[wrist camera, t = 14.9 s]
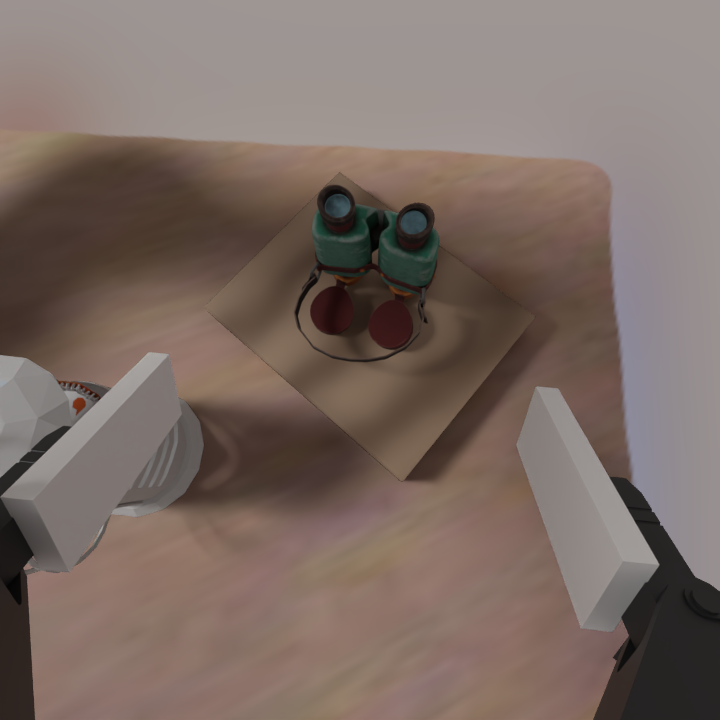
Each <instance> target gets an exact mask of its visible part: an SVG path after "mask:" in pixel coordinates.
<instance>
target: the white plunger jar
mask: <svg viewBox="0 0 720 720" xmlns="http://www.w3.org/2000/svg"><path fill="white" fill-rule="evenodd" d="M111 389H112V388H109V387H106V386H103V385H99V384H96V383H93V382H83V381H72V382H66V381H57V380H56V378H55V377H54V376H53V375H52V374H51V373H50V372H48V371H46V370H45V369H43V368H42V367H40V366H38V365H37V364H35V363H34V362H32V361H30V360H29V359H27V358H21V357H13V356H4V355H0V477H1V476H3V475H4V474H5V473H6V472H7V471H8V470H9V469H10V468H11V467H12V466H13V465H14V464H16V463H19V461H20V459H21V458H22V457H23V456H24V455H25V454H26V453H27V452H30V451H31V449H32V448H33V447H34V446H35V445H36V444H37V443H38V442H39V441H40V440H41V439H43V438H44V437H45V436H46V435H48V434H50V433H52V432H53V431H55V430H57V429H59V428H60V427H62V426H74V425H75V424H76V423H77V422H78V421H79V420H80V419H81V418H82V417H83V416H84V415H85V414H86V413H87V412H88V411H89V410H90V409H91V408H92V407H93V406H94V405H95V404H96V403H97V402H98V401H99V400H100V399H101V398H102V397H103V396H104V395H105V394H106V393H107V392H108V391H109V390H111ZM178 398H179V397H178ZM179 403H180V407H181V412H182V415H181V416H180V418H179V419H178V420H177V422H176V423H175V425H174V426H173V427H172V429H171V430H170V432H169V433H168V434H167V436H166V437H165V439H164V440H163V441H162V443H161V444H160V446H159V447H158V448H157V450H156V451H155V453H154V454H153V456H152V457H151V458H150V460H149V461H148V463H147V464H146V465H145V467H144V468H143V470H142V471H141V472H140V474H139V475H138V477H137V478H136V479H135V481H134V482H133V484H132V485H131V487H130V488H129V489H128V491H127V492H126V494H125V495H124V496H123V498H122V499H121V501H120V502H119V503H118V505H117V506H116V508H115V509H114V510H113V512H112V514H118V515H125V516H133V517H140V516H143V515H147V514H150V513H154V512H157V511H160V510H163V509H165V508H166V507H167V506H168V505H170V504H171V503H172V502H174V501H175V500H176V499H178V498H179V497H180V496H181V495H183V494H184V493H185V492H186V490H187V488H188V487H189V485H190V484H191V482H192V480H193V479H194V477H195V476H196V474H197V472H198V471H199V467H200V462H201V457H202V452H203V447H204V443H203V437H202V432H201V427H200V421H199V420H198V418H197V417H196V415H195V414H194V412H193V411H192V410H191V408H190V407H189V405H188V404H187V402H185V401H184V400H182V399H180V398H179ZM109 518H110V516H109ZM109 518H108V519H107V520H106V522H105V523H104V525H103V526H102V527H101V529H100V532H99V534H98V536H97V538H96V540H95V542H94V544H93V546H92V547H91V548H90V549H89V550H88V551H87V552H86V553H85V554H84V555H83V556H81V557H80V558H79V560H78V561H77V563H76V564H75V565H78V564H79V563H80V562H82V561H83V560H84V559H85V558H86V557H87V556H88V555H89V554H90V553H91V552H92V551H93V550H94V549H95V548H96V547H97V545H98V543H99V542H100V540H101V538H102V536H103V534H104V533H105V530H106V527H107V524H108V521H109ZM28 563H29V564H30V565H31V566H32V567H33V568H31V569H28V570H24V571H25V573H26V575H28V574H31V573H35V572H38V571H41V570H42V569H41V568H40V567H39V565H38V563H37V562H36V561H35V560H34V559H33V558H31V559H30V560H29V561H28ZM75 565H74V566H75ZM42 571H46V572H53V573H59V572H60V571H51V570H42Z"/></svg>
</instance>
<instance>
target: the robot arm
mask: <svg viewBox="0 0 720 720" xmlns="http://www.w3.org/2000/svg"><path fill="white" fill-rule="evenodd" d="M181 415H182V412H181V407H180V403H179V398H178V393H177V388H176V383H175V379H174V374H173V369H172V364H171V359H170V355H169V354H162V353H151V352H149V353H147V354H146V355H145V356H144V357H143V358H142V359H141V360H140V361H139V362H138V363H137V364H136V365H135V366H134V367H133V368H132V369H131V370H130V371H129V372H128V373H127V374H126V375H125V376H124V377H123V378H122V379H121V380H120V381H119V382H118V383H117V384H116V385H115V386H114V387H113V388H112V389H111V390H109V391H108V392H107V393H106V394H105V395H104V396H103V397H102V398H101V399H100V400H99V401H98V402H97V403H96V404H95V405H94V406H93V407H92V408H91V409H90V410H89V411H88V412H87V413H86V414H85V415H84V416H83V417H82V418H81V419H80V420H79V421H78V422H77V423H76V424H75V425H74V426H62V427H60V428H59V429H57V430H55V431H53V432H52V433H50V434H48V435H46V436H45V437H44V438H43V439H41V440H40V441H39V442H38V443H37V444H36V445H35V446H34V447H33V448H32V449H31V451H30V452H27V453H26V454H25V455H24V456H23V457H22V458H21V459H20V461H19V463H16V464H14V465H13V466H12V467H11V468H10V469H9V470H8V471H7V472H6V473H5V474H4V475H3V476H1V477H0V720H35V712H34V695H33V677H32V659H31V642H30V624H29V606H28V589H27V576H26V573H25V571H24V569H23V567H24V566H25V565H26V564H27V563H28V561H29V560H30V559H31V558H32V556H34V558H35V560H36V561H37V563H38V565H39V567H40V568H41V569H42V570H51V571H60V572H70V571H71V570H72V568H73V567H74V565H75V564H76V563H77V561H78V560H79V558H80V557H81V556H82V554H83V553H84V551H85V550H86V549H87V547H88V546H89V544H90V543H91V541H92V540H93V539H94V537H95V536H96V534H97V533H98V532H99V530H100V529H101V527H102V526H103V525H104V523H105V522H106V520H107V519H108V518H109V516H110V515H111V513H112V512H113V510H114V509H115V508H116V506H117V505H118V503H119V502H120V501H121V499H122V498H123V496H124V495H125V494H126V492H127V491H128V489H129V488H130V487H131V485H132V484H133V482H134V481H135V479H136V478H137V477H138V475H139V474H140V472H141V471H142V470H143V468H144V467H145V465H146V464H147V463H148V461H149V460H150V458H151V457H152V456H153V454H154V453H155V451H156V450H157V448H158V447H159V446H160V444H161V443H162V441H163V440H164V439H165V437H166V436H167V434H168V433H169V432H170V430H171V429H172V427H173V426H174V425H175V423H176V422H177V420H178V419H179V418H180V416H181ZM516 446H517V449H518V451H519V454H520V457H521V460H522V463H523V466H524V468H525V471H526V474H527V477H528V480H529V483H530V485H531V488H532V491H533V494H534V497H535V499H536V502H537V505H538V508H539V511H540V514H541V516H542V519H543V522H544V525H545V528H546V531H547V533H548V536H549V539H550V542H551V545H552V548H553V550H554V553H555V556H556V559H557V562H558V565H559V567H560V570H561V573H562V576H563V579H564V582H565V584H566V587H567V590H568V593H569V596H570V598H571V601H572V604H573V607H574V610H575V613H576V615H577V618H578V621H579V624H580V627H581V629H590V630H599V631H608V632H613V631H614V629H615V628H616V626H617V625H618V623H619V622H620V621H621V619H622V620H623V622H624V625H625V627H626V629H627V631H628V634H629V637H628V638H627V639H626V641H625V642H624V643H623V645H622V646H621V647H620V649H619V650H618V651H617V653H616V654H615V655H614V657H613V658H614V659H615V660H617V662H616V664H615V667H614V669H613V672H612V674H611V677H610V679H609V682H608V684H607V687H606V689H605V692H604V694H603V697H602V699H601V702H600V704H599V707H598V709H597V712H596V714H595V717H594V719H593V720H720V591H718V590H717V589H716V588H714V587H713V586H712V585H710V584H708V583H706V582H704V581H702V580H700V579H698V578H696V577H695V576H694V575H693V573H692V572H691V570H690V568H689V567H688V565H687V564H686V562H685V561H684V559H683V557H682V556H681V555H680V553H679V551H678V550H677V548H676V547H675V545H674V543H673V542H672V540H671V539H670V537H669V535H668V534H667V532H666V531H665V529H664V528H663V526H660V521H659V520H658V518H657V517H656V515H655V513H654V512H652V509H651V507H650V506H649V504H648V502H647V501H646V500H645V498H644V496H643V495H642V493H641V492H640V491H639V490H638V489H637V488H635V487H634V486H633V485H632V484H631V483H630V482H629V481H628V480H627V479H626V478H617V477H609V476H608V474H607V473H606V471H605V469H604V467H603V466H602V464H601V462H600V460H599V459H598V457H597V455H596V453H595V452H594V450H593V448H592V447H591V445H590V443H589V441H588V440H587V438H586V436H585V434H584V433H583V431H582V429H581V427H580V426H579V424H578V422H577V420H576V419H575V417H574V415H573V414H572V412H571V410H570V408H569V407H568V405H567V403H566V401H565V400H564V398H563V396H562V394H561V393H560V391H559V389H558V388H549V387H537V386H536V387H535V390H534V393H533V397H532V400H531V403H530V406H529V409H528V412H527V415H526V418H525V421H524V424H523V427H522V430H521V433H520V436H519V439H518V442H517V445H516Z"/></svg>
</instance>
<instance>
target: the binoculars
mask: <svg viewBox="0 0 720 720" xmlns="http://www.w3.org/2000/svg"><path fill="white" fill-rule="evenodd" d="M317 206H318V209H317V211H316V213H315V215H314V219H313V223H312V237H313V242H314V246H315V259H316V262H317V263H316V264H315V265H314V266H313V268H312V270H311V271H310V275H309V277H308V279H307V282H306V283H305V284H304V285H303V286H302V292H301V293H300V295H299V296H298V298H297V302H296V305H295V309H294V317H295V321H296V325H297V328H298V329H299V331H300V332H301V333H302V335H303V336H304V337H305V338H306V340H307V341H308V342H309V344H310V345H311V346H312V347H313V349H315V350H317V351H319V352H321V353H323V354H325V355H327V356H329V357H331V358H333V359H338V360H343V361H349V362H372V361H379V360H385V359H388V358H390V357H392V356H394V355H396V354H397V353H399V352H401V351H403V350H405V349H407V347H408V346H409V345H410V344H411V343H412V342H413V341H414V340H415V339H416V338H417V336H418V335H419V333H420V331H421V328H422V324H423V322H424V323H426V324H428V321H427V317H426V315H425V313H424V307H425V303H426V300H425V293H426V291H427V290H428V288H429V286H430V285H431V283H432V281H433V279H435V278H436V275H435V271H436V268H437V254H438V248H439V235H438V233H437V231H436V230H435V229H434V228H433V224H434V218H435V217H434V213H433V210H432V209H431V208H430V207H429V206H428V205H426V204H424V203H413V204H410V205H407V206H406V207H404V208H403V209H402V210H401V211H400V212H399V213H397V212H391V211H388V210H386V209H385V210H382V209H378V210H377V209H376V208H373V207H369V206H365V205H360V204H355V200H354V197H353V195H352V194H351V192H350V191H349V190H348V189H346V188H345V187H343V186H340V185H328V186H326V187H324V188H323V189H322V190H321V191H320V193H319V195H318V198H317ZM378 248H379V250H378V265H376V264H374V263H372V253H373V252H374V251H376V250H377V249H378ZM315 269H317V271H318V274H317V276H316V274H315V273H314V271H315ZM371 269H374V270H376V271H377V272H378V273H379V275H380V277H381V279H382V280H383V281H384V282H385V283H386V284H388V286H389V289H390V291H391V293H392V294H393V295H394V296H395V300H389V301H386V302H384V303H382V304H381V305H380V306H378V307H377V308H376V309H375V310H374V312H373V313H372V315H371V316H370V319H369V323H368V330H369V334H370V336H371V338H372V339H373V340H374V341H375V342H376V343H377V344H378V345H379V346H381V347H382V348H385V349H390V350H393V349H397V350H395V351H393V352H392V353H390V354H388V355H386V356H379V357H373V358H347V357H341V356H336V355H331V354H329V353H327V352H325V351H323V350H321V349H319V348H317V347H315V346H313V345H312V343H311V342H310V341H309V339H308V338H307V337H306V335H305V334H304V333H303V331H302V330H301V326H300V322H299V318H298V314H299V311H300V307H301V304H302V301H303V300H304V298H305V296H306V295H307V293H308V292H309V290H310V289H311V288H312V287H313V286H314V285H315V284H316V283H318V280H319V278H320V275H321V273H322V271H323V272H325V273H327V274H331V275H333V276H334V278H335V280H336V286H331V287H328V288H326V289H324V290H322V291H321V292H320V293H319V294H318V295H317V296H316V297H315V298H314V300H313V301H312V304H311V307H310V316H311V319H312V322H313V323H314V325H315V327H316V328H317V329H318V330H319V331H321V332H322V333H325V334H329V335H336V334H340V333H342V332H344V331H345V330H346V329H347V328H348V327H349V326H350V324H351V322H352V320H353V315H354V307H353V302H352V299H351V297H350V295H349V294H348V292H347V291H346V290H345V286H350V285H353V284H355V283H357V282H358V281H359V280H360V279H361V278H362V277H363V275H365V274H367V273H368V272H369V271H370V270H371ZM414 295H420V300H419V302H418V312H419V315H420V319H421V324H420V327H419V331H418V332H417V333H416V335H415V336H414V337H413V338H412V339H411V340H410V338H411V336H412V334H413V321H412V317H411V315H410V313H409V310H408V309H407V307H406V306H405V305H404V304H403V303H404V299H408V298H411V297H412V296H414ZM409 340H410V341H409ZM408 341H409V342H408ZM407 342H408V343H407ZM406 343H407V344H406ZM405 344H406V345H405ZM404 345H405V346H404ZM402 346H403V347H402ZM398 348H399V349H398Z"/></svg>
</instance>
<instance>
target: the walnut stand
mask: <svg viewBox="0 0 720 720" xmlns="http://www.w3.org/2000/svg"><path fill="white" fill-rule="evenodd" d="M328 185H340V186H343V187H345V188H346V189H348V190H349V191H350V192H351V194H352V195H353V197H354V200H355V204H360V205H365V206H369V207H373V208H376V209H377V210H378V209H382V210H385V209H386V210H388V211H391V212H393V211H392V210H390V209H389V208H388V207H386V206H385V205H384V204H382V203H381V202H380V201H378V200H377V199H375V198H374V197H373V196H371V195H370V194H369V193H367V192H366V191H365V190H363V189H362V188H361V187H359V186H358V185H356V184H355V183H354V182H352V181H351V180H350V179H348V178H347V177H346V176H344V175H343V174H342V173H340V172H339V173H338V174H337V175H336V176H335V177H334V178H333V179H332V180H331V181H330V182H329V183H328V184H327V185H326V186H328ZM326 186H325V187H326ZM319 193H320V192H319ZM319 193H318V194H317V195H316V196H315V197H314V198H313V199H312V200H311V201H310V202H309V203H308V204H307V205H306V206H305V207H304V208H303V209H302V210H301V211H300V212H299V213H298V214H297V215H296V216H295V217H294V218H293V219H292V220H291V221H290V222H289V223H288V224H287V225H286V226H285V227H284V228H283V229H282V230H281V231H280V232H279V233H278V234H277V235H276V236H275V237H274V238H273V239H272V240H271V241H270V242H269V243H268V244H267V245H266V246H265V247H264V248H263V249H262V250H261V251H260V252H259V253H258V254H257V255H256V256H255V257H254V258H253V259H252V260H251V261H250V262H249V263H248V264H247V265H246V266H245V267H244V268H243V269H242V270H241V271H240V272H239V273H238V274H237V275H236V276H235V277H234V278H233V279H232V280H231V281H230V282H229V283H228V284H227V285H225V286H224V287H223V288H222V289H221V290H220V291H219V292H218V293H217V294H216V295H215V296H214V297H213V298H212V299H211V300H210V301H209V302H208V303H207V304H206V305H205V306H204V308H205V309H206V310H207V311H208V312H209V313H210V314H211V315H212V316H213V317H214V318H215V319H216V320H218V321H219V322H220V323H221V324H222V325H223V326H224V327H226V328H227V329H228V330H229V331H230V332H231V333H232V334H234V335H235V336H236V337H237V338H238V339H239V340H240V341H241V342H243V343H244V344H245V345H246V346H247V347H248V348H249V349H251V350H252V351H253V352H254V353H255V354H256V355H257V356H259V357H260V358H261V359H262V360H263V361H264V362H265V363H266V364H268V365H269V366H270V367H271V368H272V369H273V370H274V371H276V372H277V373H278V374H279V375H280V376H281V377H282V378H284V379H285V380H286V381H287V382H288V383H289V384H290V385H291V386H293V387H294V388H295V389H296V390H297V391H298V392H299V393H301V394H302V395H303V396H304V397H305V398H306V399H307V400H309V401H310V402H311V403H312V404H313V405H314V406H315V407H316V408H318V409H319V410H320V411H321V412H322V413H323V414H324V415H326V416H327V417H328V418H329V419H330V420H331V421H332V422H334V423H335V424H336V425H337V426H338V427H339V428H340V429H341V430H343V431H344V432H345V433H346V434H347V435H348V436H349V437H351V438H352V439H353V440H354V441H355V442H356V443H357V444H359V445H360V446H361V447H362V448H363V449H364V450H365V451H366V452H368V453H369V454H370V455H371V456H372V457H373V458H374V459H376V460H377V461H378V462H379V463H380V464H381V465H382V466H384V467H385V468H386V469H387V470H388V471H389V472H390V473H391V474H393V475H394V476H395V477H396V478H397V479H398V480H399V481H401V482H403V480H404V479H405V478H406V477H407V476H408V474H409V473H410V472H411V471H412V469H413V468H414V467H415V466H416V464H417V463H418V462H419V461H420V459H421V458H422V457H423V456H424V454H425V453H426V452H427V451H428V450H429V448H430V447H431V446H432V445H433V443H434V442H435V441H436V440H437V438H438V437H439V436H440V435H441V433H442V432H443V431H444V430H445V428H446V427H447V426H448V425H449V424H450V422H451V421H452V420H453V419H454V417H455V416H456V415H457V414H458V412H459V411H460V410H461V409H462V407H463V406H464V405H465V404H466V402H467V401H468V400H469V399H470V398H471V396H472V395H473V394H474V393H475V391H476V390H477V389H478V388H479V386H480V385H481V384H482V383H483V381H484V380H485V379H486V378H487V376H488V375H489V374H490V373H491V372H492V370H493V369H494V368H495V367H496V365H497V364H498V363H499V362H500V360H501V359H502V358H503V357H504V355H505V354H506V353H507V352H508V350H509V349H510V348H511V347H512V346H513V344H514V343H515V342H516V341H517V339H518V338H519V337H520V336H521V334H522V333H523V332H524V331H525V329H526V328H527V327H528V326H529V324H530V323H531V322H532V321H533V320H534V318H535V316H534V315H533V314H531V313H530V312H529V311H527V310H526V309H524V308H523V307H522V306H520V305H519V304H518V303H516V302H515V301H514V300H512V299H511V298H510V297H508V296H507V295H505V294H504V293H503V292H501V291H500V290H499V289H497V288H496V287H495V286H493V285H492V284H491V283H489V282H488V281H487V280H485V279H484V278H482V277H481V276H480V275H478V274H477V273H476V272H474V271H473V270H472V269H470V268H469V267H468V266H466V265H465V264H463V263H462V262H461V261H459V260H458V259H457V258H455V257H454V256H453V255H451V254H450V253H449V252H447V251H446V250H445V249H443V248H442V247H440V246H439V248H438V254H437V268H436V271H435V275H436V278H435V279H433V281H432V283H431V285H430V286H429V288H428V290H427V291H426V293H425V300H426V303H425V307H424V313H425V315H426V317H427V321H428V324H426V323H424V322H423V324H422V328H421V331H420V333H419V335H418V336H417V338H416V339H415V340H414V341H413V342H412V343H411V344H410V345H409V346H408V347H407V349H405V350H403V351H401V352H399V353H397V354H396V355H394V356H392V357H390V358H388V359H385V360H379V361H372V362H349V361H343V360H338V359H333V358H331V357H329V356H327V355H325V354H323V353H321V352H319V351H317V350H315V349H313V347H312V346H311V345H310V344H309V342H308V341H307V340H306V338H305V337H304V336H303V335H302V333H301V332H300V331H299V329H298V328H297V325H296V321H295V317H294V309H295V305H296V302H297V298H298V296H299V295H300V293H301V292H302V286H303V285H304V284H305V283H306V282H307V279H308V277H309V275H310V271H311V270H312V268H313V266H314V265H315V264H316V263H317V262H316V259H315V246H314V242H313V237H312V223H313V219H314V215H315V213H316V211H317V209H318V206H317V198H318V195H319ZM378 250H379V248H378V249H377V250H376V251H374V252H373V253H372V263H374V264H376V265H378ZM314 273H315V274H316V276H317V274H318V271H317V269H315V271H314ZM331 286H336V280H335V278H334V276H333V275H331V274H327V273H325V272H323V271H322V273H321V275H320V278H319V280H318V283H316V284H315V285H314V286H313V287H312V288H311V289H310V290H309V292H308V293H307V295H306V296H305V298H304V300H303V301H302V304H301V307H300V311H299V314H298V318H299V322H300V326H301V330H302V331H303V333H304V334H305V335H306V337H307V338H308V339H309V341H310V342H311V343H312V345H313V346H315V347H317V348H319V349H321V350H323V351H325V352H327V353H329V354H331V355H336V356H341V357H347V358H373V357H379V356H386V355H388V354H390V353H392V352H393V351H395V350H397V349H393V350H390V349H385V348H382V347H381V346H379V345H378V344H377V343H376V342H375V341H374V340H373V339H372V338H371V336H370V334H369V330H368V323H369V319H370V316H371V315H372V313H373V312H374V310H375V309H376V308H377V307H378V306H380V305H381V304H382V303H384V302H386V301H389V300H395V296H394V295H393V294H392V293H391V291H390V289H389V286H388V284H386V283H385V282H384V281H383V280H382V279H381V277H380V275H379V273H378V272H377V271H376V270H374V269H371V270H370V271H369V272H368V273H367V274H365V275H363V277H362V278H361V279H360V280H359V281H358V282H357V283H355V284H353V285H350V286H345V290H346V291H347V292H348V294H349V295H350V297H351V299H352V302H353V307H354V315H353V320H352V322H351V324H350V326H349V327H348V328H347V329H346V330H345V331H344V332H342V333H340V334H336V335H329V334H325V333H322V332H321V331H319V330H318V329H317V328H316V327H315V325H314V323H313V322H312V319H311V316H310V307H311V304H312V301H313V300H314V298H315V297H316V296H317V295H318V294H319V293H320V292H321V291H322V290H324V289H326V288H328V287H331ZM419 300H420V295H414V296H412V297H411V298H408V299H404V303H403V304H404V305H405V306H406V307H407V309H408V310H409V313H410V315H411V317H412V321H413V334H412V336H411V338H410V340H411V339H412V338H413V337H414V336H415V335H416V333H417V332H418V331H419V327H420V324H421V319H420V315H419V312H418V302H419ZM410 340H409V341H410ZM409 341H408V342H409ZM408 342H407V343H408ZM407 343H406V344H407ZM406 344H405V345H406ZM405 345H404V346H405ZM402 347H403V346H402ZM398 349H399V348H398Z"/></svg>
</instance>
